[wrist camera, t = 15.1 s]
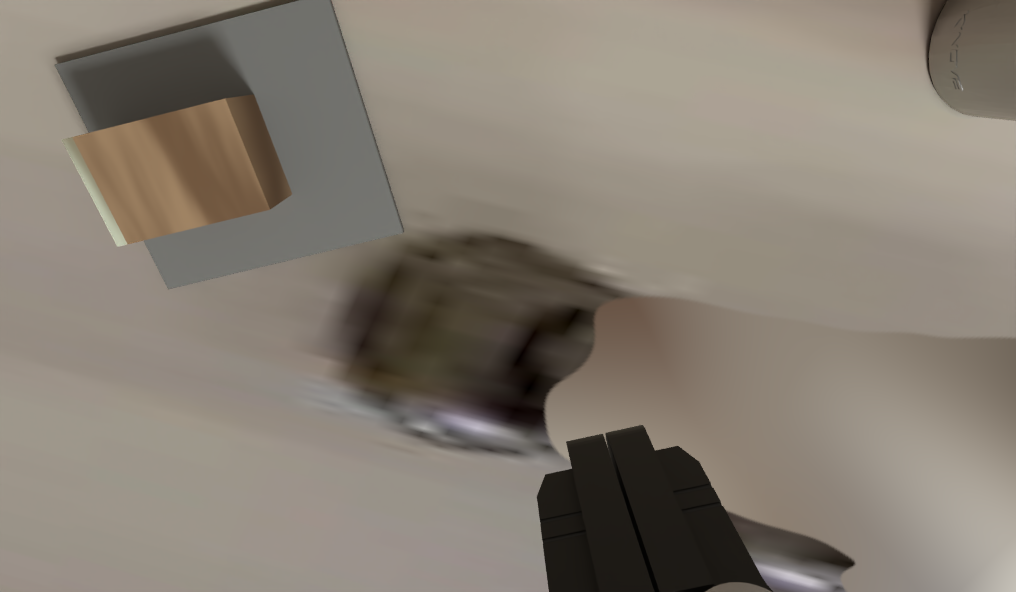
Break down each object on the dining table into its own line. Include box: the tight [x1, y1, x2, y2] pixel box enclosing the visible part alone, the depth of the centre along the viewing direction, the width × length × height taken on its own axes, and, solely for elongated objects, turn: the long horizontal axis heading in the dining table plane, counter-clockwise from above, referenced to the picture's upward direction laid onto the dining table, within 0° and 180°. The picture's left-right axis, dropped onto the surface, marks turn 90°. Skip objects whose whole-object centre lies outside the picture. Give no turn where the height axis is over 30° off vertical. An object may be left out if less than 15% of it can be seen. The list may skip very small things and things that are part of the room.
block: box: [62, 95, 292, 247], centre depth 32 cm, size 4×6×9 cm
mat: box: [55, 0, 404, 289], centre depth 34 cm, size 16×14×1 cm
